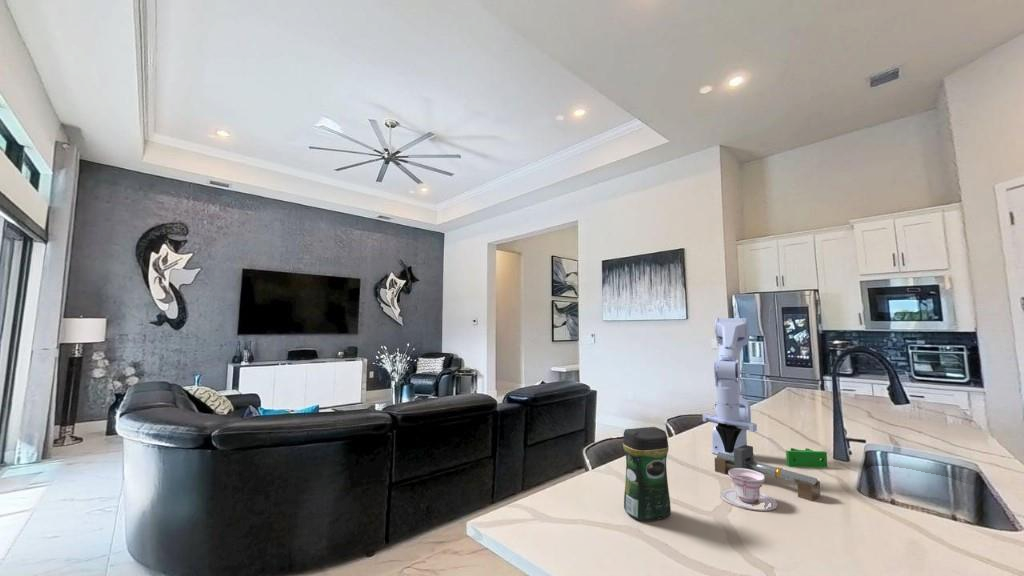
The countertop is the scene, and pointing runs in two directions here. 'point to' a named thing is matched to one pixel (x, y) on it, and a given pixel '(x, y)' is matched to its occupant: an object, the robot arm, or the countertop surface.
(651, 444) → the coffee jar
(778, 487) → the countertop surface
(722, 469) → the pipe rig
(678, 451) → the countertop surface
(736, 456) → the collar
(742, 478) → the teacup
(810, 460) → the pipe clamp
